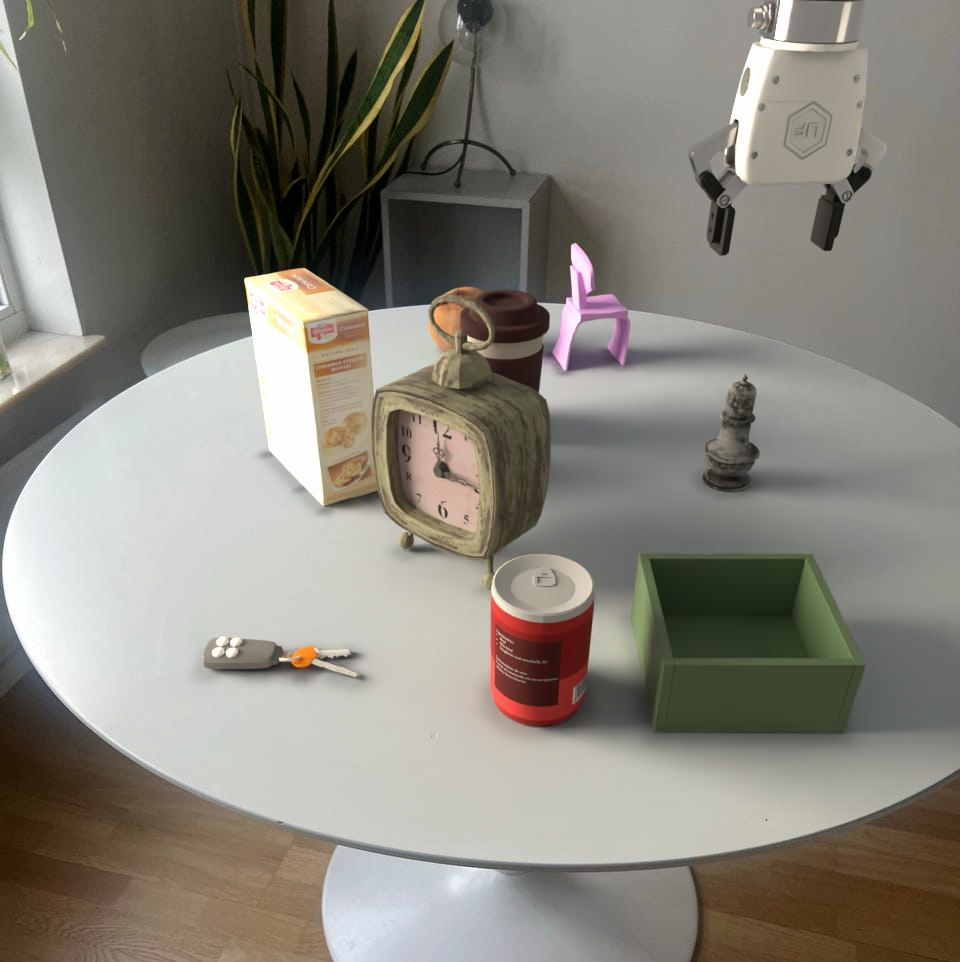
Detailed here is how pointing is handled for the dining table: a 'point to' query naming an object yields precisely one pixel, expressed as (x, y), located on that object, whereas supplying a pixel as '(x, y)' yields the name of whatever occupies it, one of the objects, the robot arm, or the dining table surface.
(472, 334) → the coffee cup
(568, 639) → the canned food
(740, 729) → the green planter box
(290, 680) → the dining table surface
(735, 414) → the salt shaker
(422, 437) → the tabletop clock
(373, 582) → the dining table surface
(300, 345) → the coffeecake box
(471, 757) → the dining table surface
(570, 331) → the toy chair
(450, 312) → the onion
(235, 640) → the key chain
